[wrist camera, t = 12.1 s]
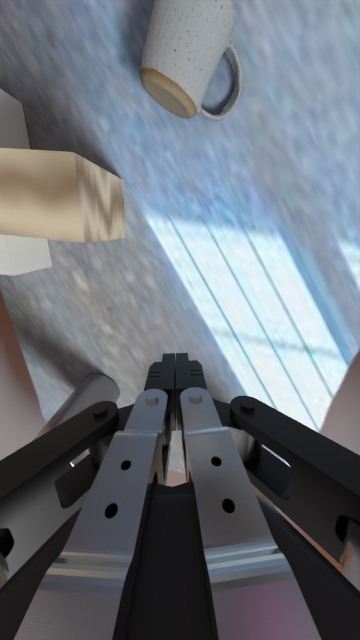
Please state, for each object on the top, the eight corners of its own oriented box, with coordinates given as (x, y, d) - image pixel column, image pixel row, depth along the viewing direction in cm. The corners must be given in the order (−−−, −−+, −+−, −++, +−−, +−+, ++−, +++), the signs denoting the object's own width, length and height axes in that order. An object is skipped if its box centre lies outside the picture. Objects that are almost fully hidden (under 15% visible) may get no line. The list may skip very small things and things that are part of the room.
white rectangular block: (52, 266, 37) (13, 275, 30) (26, 263, 37) (-18, 272, 30) (21, 103, 28) (-46, 58, 20) (-12, 101, 28) (-89, 57, 21)
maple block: (125, 238, 33) (83, 242, 22) (45, 230, 34) (-30, 231, 24) (123, 180, 30) (73, 152, 19) (35, 173, 31) (-59, 144, 20)
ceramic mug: (146, 103, 26) (124, 58, 19) (172, 10, 22) (156, -86, 15) (219, 144, 27) (223, 116, 20) (255, 61, 23) (275, -9, 16)
